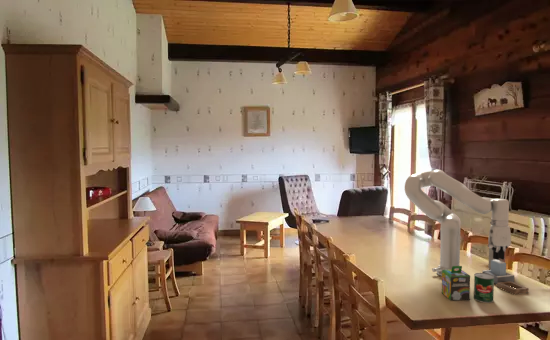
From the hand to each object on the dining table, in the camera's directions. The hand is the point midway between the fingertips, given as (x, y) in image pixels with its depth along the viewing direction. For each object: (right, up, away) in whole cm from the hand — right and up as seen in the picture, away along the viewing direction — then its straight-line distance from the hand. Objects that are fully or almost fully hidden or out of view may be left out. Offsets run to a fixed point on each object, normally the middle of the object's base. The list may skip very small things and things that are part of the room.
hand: (498, 258), depth 201 cm
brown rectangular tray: (0, -12, -12) cm, 17 cm away
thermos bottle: (+9, -11, +19) cm, 23 cm away
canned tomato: (-20, -13, -23) cm, 33 cm away
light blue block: (0, -12, +1) cm, 12 cm away
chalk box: (-31, -13, -19) cm, 39 cm away
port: (0, -12, +1) cm, 12 cm away
